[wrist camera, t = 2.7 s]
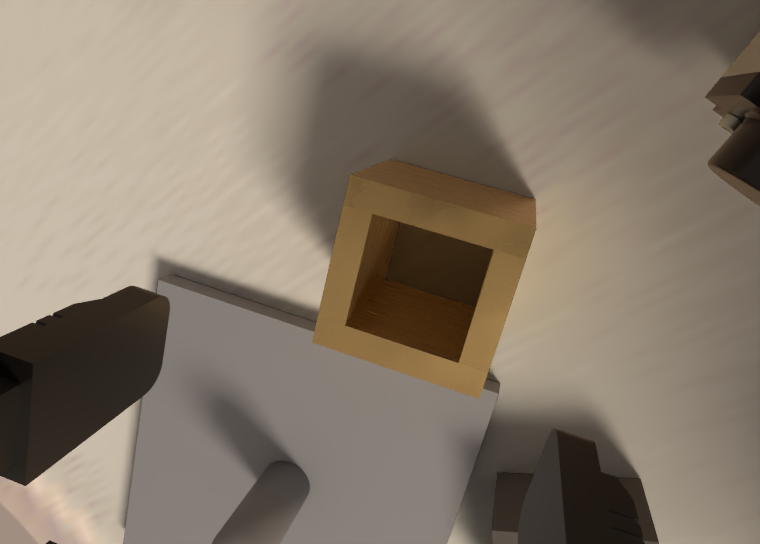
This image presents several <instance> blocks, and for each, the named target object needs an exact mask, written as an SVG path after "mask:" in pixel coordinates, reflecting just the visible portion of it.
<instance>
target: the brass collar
mask: <svg viewBox="0 0 760 544" xmlns="http://www.w3.org/2000/svg"><path fill="white" fill-rule="evenodd" d="M400 222H402V223H405V224H409V225H412V226H416V227H419V228H422V229H426V230H429V231H432V232H436V233H439V234H442V235H446V236H449V237H453V238H456V239H459V240H463V241H466V242H469V243H473V244H476V245H480V246H483V247H486V248H490V249H493V251H492V254H491V257H490V260H489V264H488V267H487V270H486V273H485V276H484V280H483V283H482V286H481V289H480V292H479V295H478V299H477V302H476V305H475V306H471V305H468V304H465V303H462V302H459V301H455V300H452V299H449V298H446V297H443V296H439V295H436V294H433V293H430V292H427V291H423V290H420V289H417V288H414V287H411V286H408V285H404V284H401V283H398V282H395V281H392V280H388V279H385V278H386V274H387V270H388V266H389V263H390V259H391V255H392V251H393V247H394V243H395V240H396V236H397V232H398V228H399V224H400ZM535 231H536V200H535V199H532V198H528V197H525V196H521V195H518V194H514V193H510V192H507V191H503V190H500V189H496V188H493V187H489V186H486V185H482V184H478V183H475V182H471V181H468V180H464V179H461V178H457V177H453V176H450V175H446V174H443V173H439V172H436V171H432V170H428V169H425V168H421V167H418V166H414V165H411V164H407V163H403V162H400V161H396V160H393V159H390V160H388V161H385V162H382V163H380V164H377V165H375V166H372V167H369V168H367V169H364V170H361V171H359V172H356V173H353V174H351V175H350V177H349V181H348V186H347V190H346V194H345V199H344V203H343V208H342V212H341V216H340V221H339V225H338V230H337V234H336V239H335V243H334V247H333V252H332V256H331V261H330V265H329V269H328V274H327V278H326V283H325V287H324V291H323V296H322V300H321V305H320V309H319V313H318V318H317V322H316V327H315V331H314V336H313V340H312V343H315V344H318V345H321V346H324V347H327V348H330V349H333V350H335V351H338V352H341V353H344V354H347V355H350V356H353V357H356V358H359V359H362V360H365V361H368V362H371V363H374V364H377V365H380V366H383V367H386V368H389V369H392V370H395V371H398V372H401V373H404V374H407V375H410V376H412V377H415V378H418V379H421V380H424V381H427V382H430V383H433V384H436V385H439V386H442V387H445V388H448V389H451V390H454V391H457V392H460V393H463V394H466V395H469V396H472V397H475V398H478V399H479V398H480V395H481V392H482V389H483V386H484V383H485V380H486V377H487V374H488V371H489V368H490V365H491V362H492V359H493V356H494V354H495V351H496V348H497V345H498V342H499V339H500V336H501V333H502V330H503V327H504V324H505V321H506V318H507V315H508V312H509V309H510V306H511V303H512V300H513V297H514V294H515V291H516V288H517V285H518V282H519V279H520V276H521V273H522V270H523V267H524V264H525V261H526V258H527V255H528V252H529V249H530V246H531V243H532V240H533V237H534V234H535Z"/></svg>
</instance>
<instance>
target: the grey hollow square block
mask: <svg viewBox="0 0 760 544" xmlns="http://www.w3.org/2000/svg"><path fill="white" fill-rule="evenodd" d="M533 476H534V474H521V473H498V472H497V480H496V491H495V501H494V511H493V521H492V544H518V527H519V520H520V515H521V510H522V507H523V503H524V500H525V497H526V494H527V491H528V489H529V486H530V484H531V481H532V479H533ZM618 479H619V481H620V482H621V483H622V485H623V486H624V487H625V489H626V490H627V491H628V493H629V494H630V495H631V497H632V498H633V500H634V503H635V507H636V511H637V515H638V519H639V521H638V524H640V526H641V530H642V534H643V542H645V544H659V541H658V538H657V534H656V531H655V527H654V524H653V520H652V517H651V513H650V510H649V506H648V503H647V499H646V496H645V492H644V489H643V486H642V482H641V479H633V478H618Z"/></svg>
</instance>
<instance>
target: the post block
mask: <svg viewBox="0 0 760 544" xmlns="http://www.w3.org/2000/svg"><path fill="white" fill-rule="evenodd" d="M157 294H160V295H163V296H166V297H167V298H168V299H169V302H170V314H169V321H168V328H167V335H166V342H165V349H164V356H163V363H162V368H161V371H160V374H159V376H158V378H157V380H156V382H155V384H154V385H153V387H152V388H151V389H150V390H149V392H147V393H146V394H145V395H144V396H143V399H142V406H141V414H140V421H139V429H138V436H137V444H136V451H135V459H134V466H133V474H132V481H131V489H130V496H129V504H128V511H127V519H126V526H125V534H124V541H123V544H447V542H448V540H449V537H450V534H451V531H452V528H453V525H454V522H455V519H456V516H457V513H458V511H459V508H460V505H461V502H462V499H463V496H464V493H465V490H466V487H467V485H468V482H469V479H470V476H471V473H472V470H473V467H474V464H475V461H476V458H477V456H478V453H479V450H480V447H481V444H482V441H483V438H484V435H485V432H486V429H487V427H488V424H489V421H490V418H491V415H492V412H493V409H494V406H495V403H496V400H497V398H498V395H499V388H500V383H497V382H494V381H491V380H488V379H486V380H485V383H484V386H483V389H482V392H481V395H480V398H479V399H478V398H475V397H472V396H469V395H466V394H463V393H460V392H457V391H454V390H451V389H448V388H445V387H442V386H439V385H436V384H433V383H430V382H427V381H424V380H421V379H418V378H415V377H412V376H410V375H407V374H404V373H401V372H398V371H395V370H392V369H389V368H386V367H383V366H380V365H377V364H374V363H371V362H368V361H365V360H362V359H359V358H356V357H353V356H350V355H347V354H344V353H341V352H338V351H335V350H333V349H330V348H327V347H324V346H321V345H318V344H315V343H312V340H313V336H314V331H315V327H316V322H313V321H310V320H307V319H304V318H301V317H298V316H295V315H292V314H289V313H286V312H283V311H280V310H277V309H274V308H271V307H268V306H265V305H262V304H259V303H256V302H253V301H250V300H247V299H244V298H241V297H238V296H235V295H232V294H229V293H226V292H223V291H220V290H217V289H214V288H211V287H208V286H205V285H202V284H199V283H196V282H193V281H190V280H187V279H184V278H180V277H177V276H174V275H171V274H170V275H168V276H166V277H163V278H161V279H159V280H158V286H157Z"/></svg>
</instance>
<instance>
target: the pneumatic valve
mask: <svg viewBox="0 0 760 544" xmlns="http://www.w3.org/2000/svg"><path fill="white" fill-rule="evenodd" d="M705 98H707V99H708V100H709V101H711V102H712V103H714V104H715V105H716V106H715V107H714V109H713V111H715V112H716V113H718V114H719V115H721V116H722V117H723V119H722V120H721V121H720V122H719V125H720V126H721V127H722V128H724V129H725V130H727V131H728V132H730V133H732V135H731V136H730V137H729V138H728V139H727V140H726V142H725V143H724V144H723V145H722V146H721V147H720V148H719V149H718V151H717V152H716V153H715V154H714V155H713V156H712V157H711V159H710V160H709V161H708V166H709V168H710V169H711V170H712V171H713V172H714V173H715V174H717V175H718V176H719V177H720V178H722V179H723V180H724V181H725V182H727V183H728V184H729V185H731V186H732V187H733V188H735V189H736V190H737V191H739V192H740V193H741V194H743V195H744V196H746V197H747V198H748V199H750V200H751V201H753V202H754V203H756V204H757V205H759V206H760V31H759V32H758V34H757V35H756V36H755V37H754V39H753V40H752V41H751V42H750V43H749V45H748V46H747V47H746V48H745V49H744V51H743V52H742V53H741V54H740V55H739V57H738V58H737V59H736V60H735V61H734V63H733V64H732V65H731V66H730V67H729V69H728V70H727V71H726V72H725V73H724V75H723V76H722V77H721V78H720V79H719V81H718V82H717V83H716V84H715V85H714V87H713V88H712V89H711V90H710V91H709V93H708V94H707V95H706V96H705Z"/></svg>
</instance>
